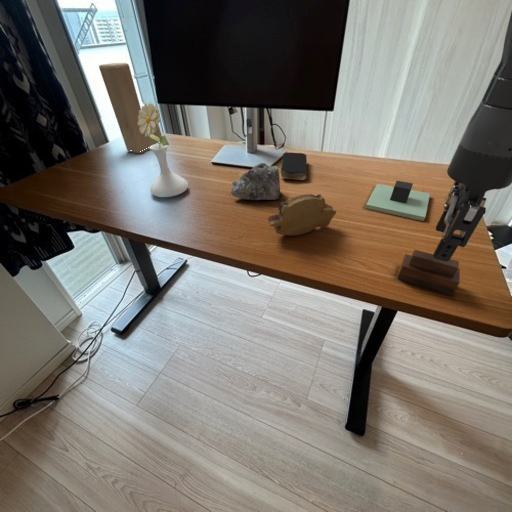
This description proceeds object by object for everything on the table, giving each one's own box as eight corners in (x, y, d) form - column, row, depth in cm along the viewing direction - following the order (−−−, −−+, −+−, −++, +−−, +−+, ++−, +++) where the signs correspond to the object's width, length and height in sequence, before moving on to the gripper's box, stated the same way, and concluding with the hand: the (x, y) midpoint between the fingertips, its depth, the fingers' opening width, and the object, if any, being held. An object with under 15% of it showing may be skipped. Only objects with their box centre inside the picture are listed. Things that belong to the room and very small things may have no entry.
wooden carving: (324, 219, 68) (329, 182, 62) (334, 228, 65) (341, 190, 59) (264, 235, 64) (264, 197, 57) (273, 246, 61) (273, 207, 54)
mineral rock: (229, 200, 78) (226, 166, 71) (247, 185, 85) (245, 153, 78) (270, 209, 73) (270, 174, 66) (285, 192, 80) (286, 159, 74)
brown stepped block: (451, 282, 50) (465, 259, 47) (451, 296, 48) (465, 273, 44) (399, 266, 54) (409, 244, 50) (396, 279, 51) (406, 257, 48)
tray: (428, 197, 75) (430, 193, 74) (423, 221, 66) (425, 217, 65) (376, 187, 81) (377, 183, 80) (365, 208, 72) (366, 204, 71)
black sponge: (282, 162, 98) (283, 152, 96) (306, 162, 97) (307, 152, 95) (279, 181, 86) (280, 170, 84) (306, 182, 85) (307, 171, 83)
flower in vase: (147, 190, 85) (118, 100, 68) (181, 180, 89) (161, 94, 73) (159, 207, 76) (129, 108, 60) (197, 195, 80) (178, 101, 64)
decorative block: (141, 154, 110) (113, 65, 91) (127, 152, 113) (97, 65, 93) (164, 142, 121) (143, 60, 101) (150, 141, 123) (128, 60, 104)
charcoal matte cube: (408, 197, 73) (413, 183, 70) (405, 203, 70) (411, 189, 68) (392, 193, 75) (396, 180, 72) (389, 200, 72) (394, 186, 69)
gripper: (545, 169, 28) (468, 278, 39) (522, 132, 38) (466, 228, 48) (461, 157, 31) (412, 262, 42) (460, 126, 40) (419, 218, 51)
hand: (441, 243), depth 45 cm, fingers open, 8 cm apart
